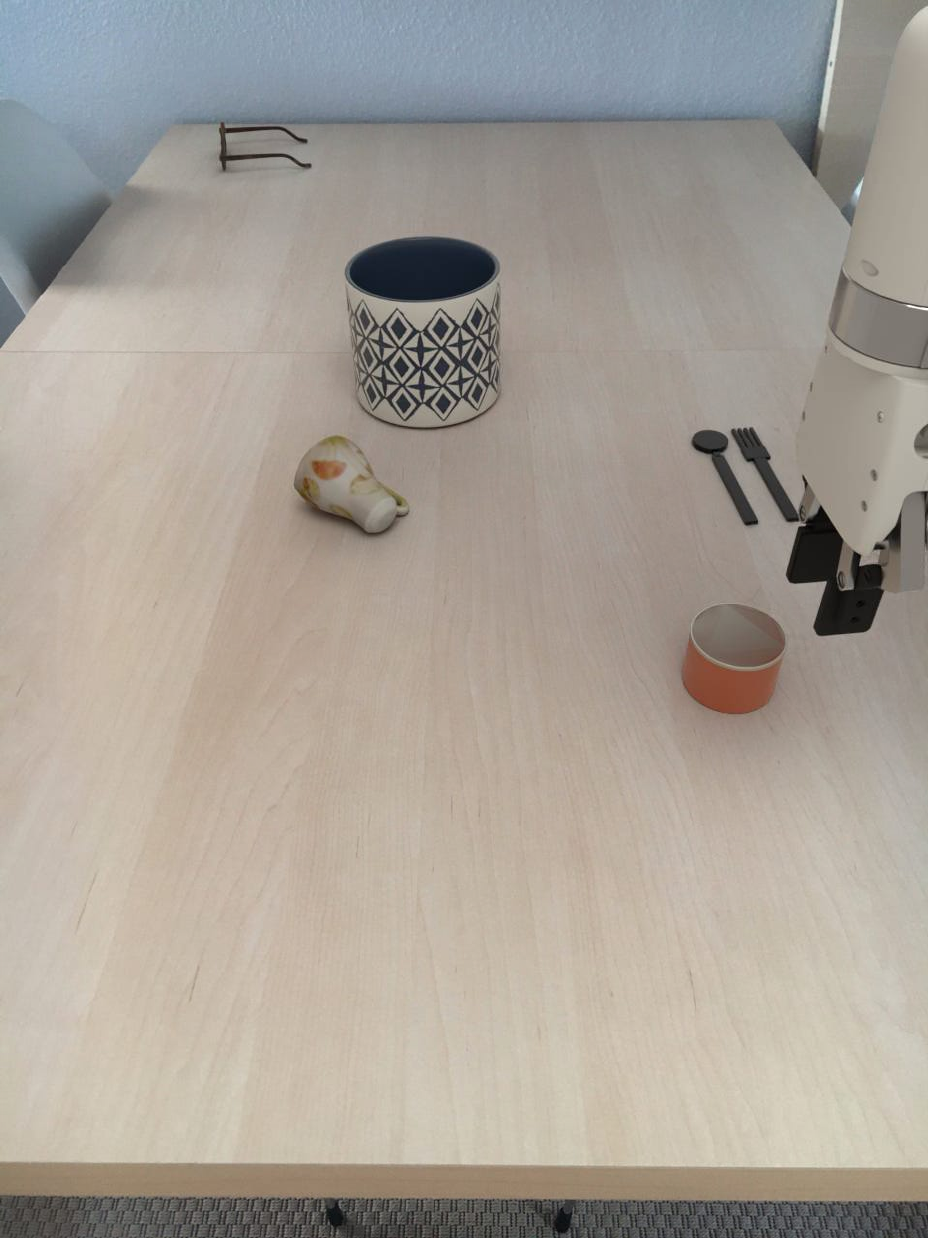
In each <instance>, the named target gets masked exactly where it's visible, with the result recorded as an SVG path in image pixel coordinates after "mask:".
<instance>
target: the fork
mask: <svg viewBox="0 0 928 1238" xmlns="http://www.w3.org/2000/svg"><path fill="white" fill-rule="evenodd" d="M730 432H731V434H732V436H733V438H734V439H735V441H736V442H737V445H738V446H739V448H740V450H741V454H742V455H743V457H744V459H745V461H746V462H752V463H753V464H754V466H755V467H756V469H757V471H758V473H759V475H760V476H761V478H762V480H763V481H764V484H765V485H766V487H767V489H768V491H769V493H770V494H771V496H772V498H773V499H774V501H775V503H776V505H777V506H778V508H779V510H780V512H781V514H782V515H783V517H784V519H785V521H786V522H800V520H799V517H798V510H796V508H795V506H794V504H793V502H792V501H791V499H790V497H789V496H788V493H787V492H786V490H785V488H784V487H783V486H782V483H781V482H780V481H779V479H778V477H777V475H776V473H775V471H774V470H773V467H772V466H771V464H770V463H769V461H770V460H771V459H772V456H771V454H770V453H769V451H768V450H767V447H766V446H765V445H764V444H763V442H762V440H761V438H760V437H759V436H758V434H757V432H756V430H755V429H754V427H753V426H751V427H743V429H742V428H741V427H737V429H736V428H731V429H730Z"/></svg>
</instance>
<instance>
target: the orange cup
mask: <svg viewBox="0 0 928 1238" xmlns="http://www.w3.org/2000/svg"><path fill="white" fill-rule="evenodd" d="M787 648H788V635H787V633H786V630H785V629H784V627H783V625H782V624H781V623H780V622H779V621H778V620H777V619H776V618H775V617H774V616H772V615H771V614H770V613H769V612H766V611H765V610H764V609H761V608H759V607H756V606H754V605H749V604H746V603H739V602H722V603H721V602H720V603H716V604H712V605H709V606H707V607H704V608H703V609H701V610H700V611H699V612H698V613H696V615H695V616H694V617H693V618H692V620H691V623H690V626H689V635H688V641H687V647H686V650H685V656H684V662H683V666H682V682H683V685H684V687H685V689H686V691H687V692H688V694H689V695H690V696H691V697H692V698H693V699H694V700H695V701H697V702H698V703H700V704H701V705H703V706H704V707H706V708H709V709H710V710H714V711H716V712H720V713H723V714H724V713H725V714H733V715H735V714H737V715H739V714H746V713H750V712H754V711H756V710H759V709H761V708H762V707H763V706H765V705H766V704H767V703H768V702H769V701H770V699H771V698H772V696H773V694H774V690H775V687H776V684H777V680H778V676H779V673H780V670H781V666H782V663H783V659H784V655H785V653H786V651H787Z"/></svg>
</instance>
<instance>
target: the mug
mask: <svg viewBox="0 0 928 1238" xmlns="http://www.w3.org/2000/svg"><path fill="white" fill-rule="evenodd" d="M293 487H294V489H295V491H296V492H297V493H298V494H299V495H300V497H301V498H302V499H303V500H304V501H305V502H306V503H308V505H310V506H312V507H313V508H315V509H317V510H320V511H323V512H325V513H329V514H333V515H336V516H340V517H344V518H347V519H349V520H350V521H353V522H354V523H355V524H357V525H358V526H359V527H360V528H362V529H363V530H364V531H365V532H366V533H370V534H373V533H381V532H383V531H385V530H386V529H387V528H388V527H390V525H391V524H392V523H393V522H394V520H395V518H396V516H397V515H398V516H401V517H402V516H406V515H407V514H408V513H409V511H410V504H409V502H408V501H407V500H406V499H405V498H404V497H403V496H402V495H400V494H398V493H396V492H395V491H394V490H392V489H390V488H389V487H387V486H386V485H384V484H383V483H382V482H380V480H378V479H377V477H376V475H375V473H374V471H373V469H372V466H371V465H370V462H369V460H368V458H367V456H366V455H365V453H364V451H363V450H362V449H361V447H359V446H358V445H357V444H356V443H355V442H354V441H352V440H350V439H349V438H346V437H345V436H342V435H331V436H328V437H325V438H323V439H322V440H320V441H318V442H317V443H315V444H314V445H313V446H311V447H310V448H309V449H308V450H307V452H305V454H304V455H303V456H302V458H301V460H300V462H299V464H298V467H297V469H296V471H295V475H294V481H293Z"/></svg>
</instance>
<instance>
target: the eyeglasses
mask: <svg viewBox="0 0 928 1238" xmlns="http://www.w3.org/2000/svg"><path fill="white" fill-rule="evenodd" d="M259 131H282V132H284V133H286V134H287V135H288V136H289V137H291V138H292V139H294V140H295V141H297V142H300V143H306V144H307V143H308V142H309V141H308V139H307V138H303V137H299V136H297V135H296V134H295V133H294V132H292V131H290V130H289V129H288V128H286V127H283V126H281V125H280V126H277V125H263V126H239V127H237V126H236V127H226V125H225V122H224V121H221V122H220V127H219V128H218V133H219V135H220V143H219V144H220V147H221V148H220V153H219V157H218V160H219V162H221V167H222V170H223V171H226V168H227V162H232V161H233V162H234V161H244V160H245V161H246V160H257V159H269V158H286V159H288V160H290V161H291V162H293V163H294V164H296V165H297V166H298V167H300V168H305V169H307V168H311V167H312V163H310V162H307V163H304V162H303V163H302V162H300V161H299V160H298V159H296V158H295V157H293V156H292V155H290V154H288V153H281V152H280V153H279V152H278V153H277V152H275V153H274V152H272V153H271V152H269V153H248V154H247V153H245V154H228V155H227V151H228V149H227V139H226V138H227V137H226V134H237V133H249V132H259Z"/></svg>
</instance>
